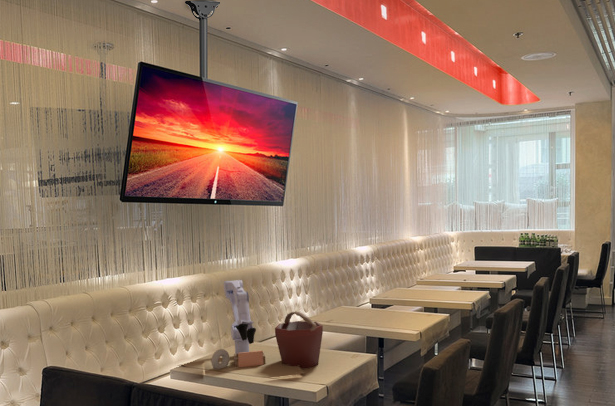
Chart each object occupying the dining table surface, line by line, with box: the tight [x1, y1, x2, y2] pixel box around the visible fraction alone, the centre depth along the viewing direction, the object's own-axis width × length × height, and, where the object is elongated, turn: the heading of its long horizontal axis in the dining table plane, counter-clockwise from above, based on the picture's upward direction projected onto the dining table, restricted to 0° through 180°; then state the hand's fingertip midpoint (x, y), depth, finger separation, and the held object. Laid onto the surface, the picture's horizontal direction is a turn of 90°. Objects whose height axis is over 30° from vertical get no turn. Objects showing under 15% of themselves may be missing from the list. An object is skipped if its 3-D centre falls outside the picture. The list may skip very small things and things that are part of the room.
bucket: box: [274, 311, 324, 370], centre depth 280 cm, size 24×22×25 cm
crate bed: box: [233, 352, 266, 368], centre depth 283 cm, size 11×14×5 cm
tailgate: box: [237, 350, 265, 368], centre depth 277 cm, size 1×12×7 cm, turn 102°
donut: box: [210, 348, 230, 370], centre depth 277 cm, size 10×4×10 cm, turn 137°
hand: (248, 341), depth 282 cm, fingers open, 7 cm apart
